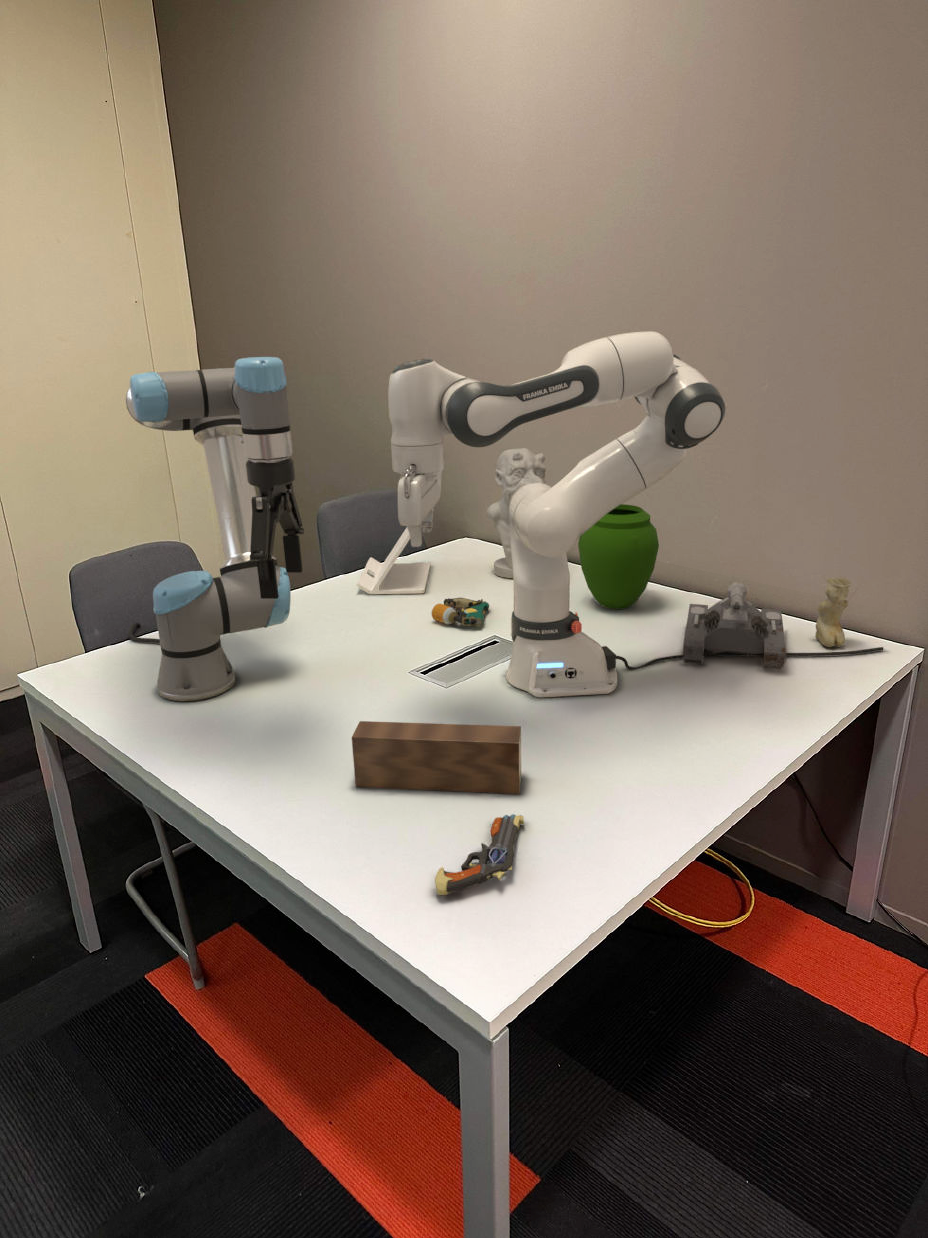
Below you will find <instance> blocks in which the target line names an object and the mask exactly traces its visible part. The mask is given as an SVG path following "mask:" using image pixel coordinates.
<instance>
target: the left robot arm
mask: <svg viewBox="0 0 928 1238" xmlns="http://www.w3.org/2000/svg"><path fill="white" fill-rule="evenodd" d="M287 383H288V380H287V377H286V373H285V367H284V361H282V359H281V358H279V357H276V356H254V357H253V356H251V357H243V358H239V359H237V360H235V363H234V367H225V368H224V367H223V368H222V367H221V368H220V367H219V368H208V369H196V370H175V371H172V370H171V371H158V372H157V371H147V372H142V373H135V374H133V375H132V376H131V377H130V378H129V388H128V389H127V392H126V394H125V404H126V409H127V412H128V413H129V415H130V417H131V418H132V419H133V420H134V421H135V422H137V423H138V424H139V425H141V426H144V427H146V428H150V429H153V430H159V431H167V432H168V431H169V432H183V431H192V433H193V437H194V440H195V441H196V442H197V443H198V444H200V445H201V446H202V447H203V449H204V450H203V451H204V454H205V455H204V456H205V459H206V464H207V471H208V476H209V481H210V486H211V490H212V496H213V501H214V505H215V506H214V507H215V511H216V515H217V522H218V527H219V532H220V537H221V538H220V539H221V543H222V547H223V553H224V560H223V562H222V563H221V565H220V566H219V573H220V576H216V577H213V575H212V574H211V573H210V572H209V571H207V570H197V571H196V570H191V571H185V572H181V573H178V574H174V575H172V576H169V577H167V578H165V579H163V580H162V581H160V582H159V583H158V584H157V585H156V586H155V587H154V588H153V591H152V601H153V608H152V609H153V613H154V615H155V619H156V625H157V633H158V638H153V637H152V638H151V637H138V636H135V635H133V634H134V631H135V629H136V628H141V626H142V625H141V623H140V622H134V623H133V624H132V625H131V626H130V627H129V630H128V635H127V636H128V638H129V639H130V640H131V641H134V642H137V643H152V644H153V643H154V644H160V646H159V647H160V650H161V660H160V664H159V665H160V666H159V671H158V676H157V692H158V694H159V695H160V697H162V698H164V699H165V700H169V701H174V702H195V701H202V700H206V699H210V698H214V697H216V696H219V695H222V694H223V693H225V692H228V691H229V690H230V689H231V688H232V687H233V686H234V685H235V684H236V676H235V670H234V668H233V666H232V663H231V661H230V660H229V659H228V657H227V655H226V653H225V651H224V649H223V647H222V640H221V636H222V635H228V634H233V633H234V634H235V633H239V632H245V631H251V630H257V629H263V628H264V629H267V628H269V627H271V626H272V627H273V626H276V625H281V624H284V623H285V622H286V621H287V619H288V618H289V615H290V610H291V593H292V592H291V582H290V577H289V574H288V573H298V574H300V573H302V572H303V561H302V551H301V542H300V535H304V533H305V528H304V527H303V522H302V518H301V514H300V511H299V507H298V503H297V500H296V496H295V492H294V486H293V485H294V484H293V482H294V481H295V480H296V474H295V462H294V460H293V459H292V455H293V454H294V449H293V441H292V431H291V425H290V424H291V423H290V414H289V413H290V411H289V401H288V391H287V390H288V389H287ZM256 487H257V488H258V496H257V491H256ZM278 523H279V525H280V527H281V530H282V531H283V533H284V535H283V536H282V543H283V553H284V563H285V564H284V565H285V567H282V566H279V565H278V560H277V558H276V557H275V556H273V554H274V553H273V552H274V544H275V538H276V537H275V536H276V529H277V524H278Z"/></svg>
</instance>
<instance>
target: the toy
mask: <svg viewBox="0 0 928 1238" xmlns="http://www.w3.org/2000/svg"><path fill="white" fill-rule="evenodd" d="M747 593H748V590H747V587H746V584H744V583H742V582H740V581H739V582H737V581H736V582H732V583H731V584H730V585H729V586H727V588H726V595H727V597H725V598H723V599H720V600H719V601H718V602H716V603H715V604H713V605H712V606H710V607H709V605H708V604H700V603H699V604H698V603H689V607H688V612H687V613H688V614H687V619H686V624H685V625H686V626H685V632H684V638H683V646H682V647H683V648H682V655H683V658H682V659H683V662H684V663H690V664H702V665H703V662H704V656H703V655H704V653H705V650H706V651H708V652H709V651H710V652H715V653H720V652H728V653H740V654H752V655H751V656H754V655H756V654H761V655H762V656H761V667H762V668H764V669H773V670H782V669H783V668H784V666H785V663H786V662H785V661H786V657H787V656H786V653H787V645H786V638H785V637H786V636H785V630H784V622H783V613H782V610H780V609H770V608H761V610H759V609H758V608H757V607H756V606H755V605H754V604H753V603H752V602H751V601H749V600H748V599H746V596H747Z"/></svg>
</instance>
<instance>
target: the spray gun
mask: <svg viewBox="0 0 928 1238" xmlns="http://www.w3.org/2000/svg"><path fill="white" fill-rule="evenodd" d="M489 608H490V604H489V602H487V601H484V599H483V598H481V599H478V600H474V599H469V598H465V597H454V598H444V600H443V603H437V604H435V605H434V606H433V608H432V609H431V612H430V613H431V617H432V619H433V620H434V621H437V622H439V623H441V624H445V625H452V624H455V623H459V624H461V625H462V626H464V627H465V626H470V627H482V625H483V622H484V619H485V614H486V612H488V610H489Z"/></svg>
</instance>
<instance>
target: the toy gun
mask: <svg viewBox="0 0 928 1238" xmlns="http://www.w3.org/2000/svg"><path fill="white" fill-rule="evenodd" d="M524 821H525V820H524V815H522V814H519V815H516V814H514V813H513V814H511V815H508V814H505V815H504V816H498V817H495V818H494V820H493V822H492V825H491V828H490V836H491V838H492V839H491V842H490V844H489V845H486V844H484V843H482V842H481V843H480V845H481V851H474V852H470V853H469V854H467V858H466V859H465V861H464V862H463V863H462V864H461V865H460V867H461V868H460V869H461V871H456V872H451V871H446V870H445V869H444V867H443V866H442V867H440V868H439V869H438V870H437V873H436V875H435V878H434V884H435V889H436V890H435V891H436V894H437V895H438V896H447V895H448V894H451V893H454V892H459V891H462V890H465V889H468V888H470V887H473V886H475V885H480V884H483V883H487V882H489V881H490V880H491V879H494V878H497V881H501V880H502V878H503V877H504V876H505V875H506V872H508V871H511V870H513V864H514V860H515V844H516V840H517V835H518V832H519V829H520V827H521V825H524V824H525V822H524ZM475 860H476V861H478V862H477V863H476V864H473V863H472V862H473V861H475Z"/></svg>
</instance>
